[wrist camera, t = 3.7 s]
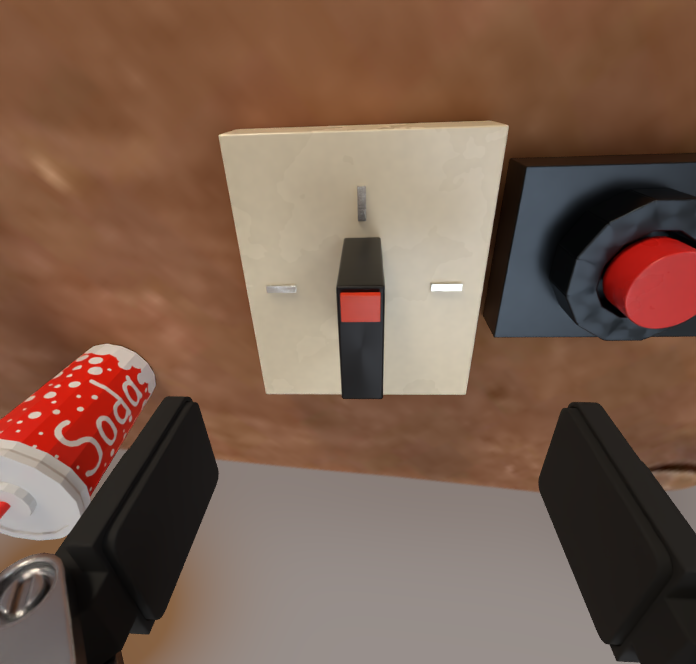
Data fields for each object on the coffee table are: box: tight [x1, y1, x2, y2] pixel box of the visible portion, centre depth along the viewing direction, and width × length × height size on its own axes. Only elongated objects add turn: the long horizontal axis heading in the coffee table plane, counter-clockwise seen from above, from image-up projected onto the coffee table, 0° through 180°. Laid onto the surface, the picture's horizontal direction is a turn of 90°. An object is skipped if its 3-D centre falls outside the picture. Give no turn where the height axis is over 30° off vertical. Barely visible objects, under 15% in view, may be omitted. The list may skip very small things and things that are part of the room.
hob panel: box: [219, 121, 509, 395], centre depth 19 cm, size 11×13×3 cm
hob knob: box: [336, 237, 385, 399], centre depth 16 cm, size 5×2×5 cm, turn 2°
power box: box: [483, 153, 696, 341], centre depth 18 cm, size 10×8×4 cm
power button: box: [603, 236, 696, 329], centre depth 15 cm, size 3×3×2 cm
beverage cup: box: [0, 344, 156, 540], centre depth 19 cm, size 6×6×14 cm
